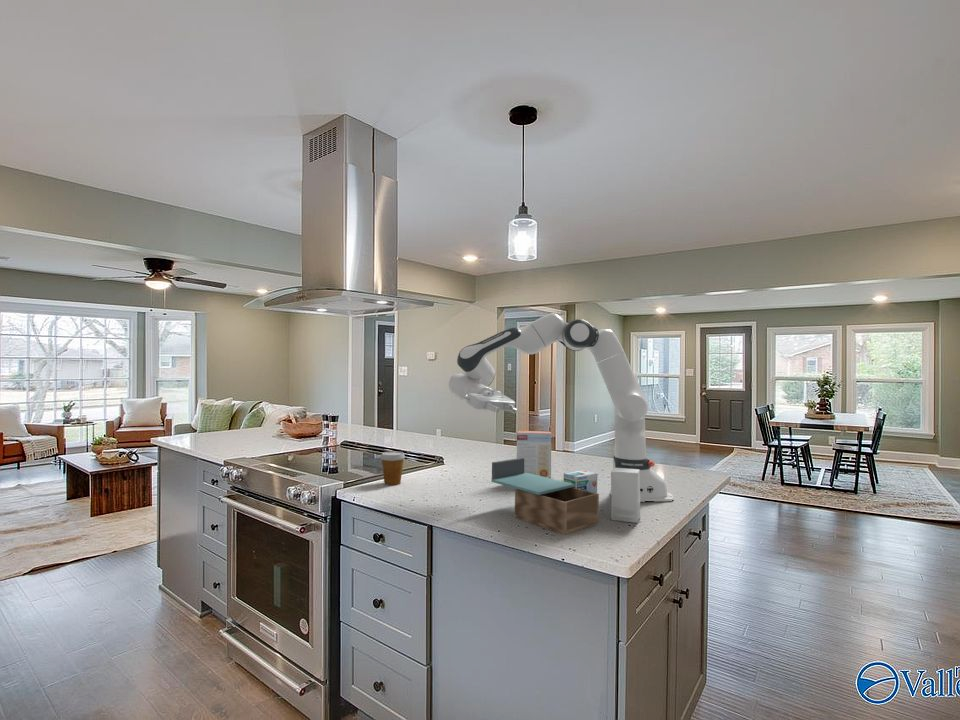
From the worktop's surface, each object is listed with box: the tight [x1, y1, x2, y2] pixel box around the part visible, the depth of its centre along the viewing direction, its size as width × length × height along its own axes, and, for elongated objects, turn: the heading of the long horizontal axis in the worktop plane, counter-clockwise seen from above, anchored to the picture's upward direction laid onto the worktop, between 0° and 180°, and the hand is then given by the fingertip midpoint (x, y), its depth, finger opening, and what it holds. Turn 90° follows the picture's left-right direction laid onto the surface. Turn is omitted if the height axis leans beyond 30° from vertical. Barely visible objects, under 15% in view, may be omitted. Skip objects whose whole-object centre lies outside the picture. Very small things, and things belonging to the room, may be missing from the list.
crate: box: [514, 487, 600, 535], centre depth 156 cm, size 20×16×9 cm
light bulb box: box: [563, 469, 598, 494], centre depth 176 cm, size 11×7×11 cm, turn 126°
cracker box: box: [516, 430, 552, 479], centre depth 206 cm, size 14×6×21 cm, turn 84°
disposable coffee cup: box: [380, 450, 406, 486], centre depth 200 cm, size 10×10×12 cm
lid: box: [491, 457, 575, 495], centre depth 164 cm, size 22×17×6 cm
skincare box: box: [610, 468, 641, 524], centre depth 159 cm, size 8×7×16 cm
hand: (506, 410), depth 177 cm, fingers open, 8 cm apart
